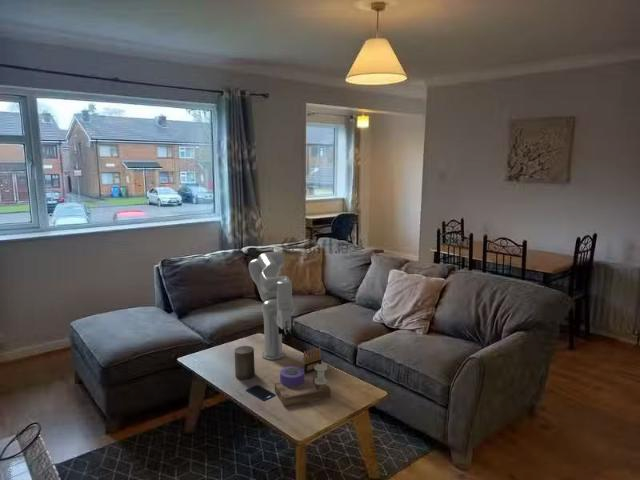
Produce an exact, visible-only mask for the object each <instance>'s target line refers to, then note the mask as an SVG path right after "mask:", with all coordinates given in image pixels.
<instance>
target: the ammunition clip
mask: <svg viewBox="0 0 640 480" xmlns="http://www.w3.org/2000/svg"><path fill="white" fill-rule="evenodd" d="M317 364H322V355H321V347H320V346H318V348H317V347H315V348H312V349H311V348H310V349H309V350H308V349H307V350H304V352H303V359H302V369H303V370H304V375H305V374H309V373H312V372H315V369H314V367H315V365H317Z"/></svg>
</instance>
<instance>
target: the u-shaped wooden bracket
mask: <svg viewBox="0 0 640 480" xmlns="http://www.w3.org/2000/svg"><path fill="white" fill-rule="evenodd" d="M316 378H317V375H314V376H313V375H312V385H313V386H314V388H315V389H316V390H311V391H308V392H302V393H298V394H293V395H290V394H289V392H288V391H287V389H286V388H285V386H284V385H282V384H281V383H280V382H277V383H274V394H275V395H276V396H277V398H278V399H279V401H280V402H281V405H282V406H283V407H285V408H286V407H290V406H294V405H295V406H296V405H300V404H304V403H308V402H313V401H318V400H324V399H327V398H331V388H330V387H329V385H328V384H325V385H317V384H315V382H314V380H315V379H316Z"/></svg>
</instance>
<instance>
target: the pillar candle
mask: <svg viewBox="0 0 640 480" xmlns="http://www.w3.org/2000/svg"><path fill="white" fill-rule="evenodd" d="M233 351H234V352H233V353H234V370H235V372H234V373H235V374H234V375H235V378H237V379H238V380H250V379H252V378H254V377H255V375H256V373H255V371H256V370H255V349H254V347H253V346H249V345H241V346H238V347H235V349H234V350H233Z"/></svg>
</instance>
